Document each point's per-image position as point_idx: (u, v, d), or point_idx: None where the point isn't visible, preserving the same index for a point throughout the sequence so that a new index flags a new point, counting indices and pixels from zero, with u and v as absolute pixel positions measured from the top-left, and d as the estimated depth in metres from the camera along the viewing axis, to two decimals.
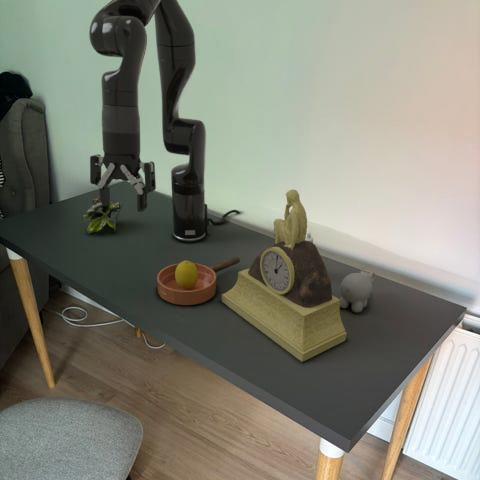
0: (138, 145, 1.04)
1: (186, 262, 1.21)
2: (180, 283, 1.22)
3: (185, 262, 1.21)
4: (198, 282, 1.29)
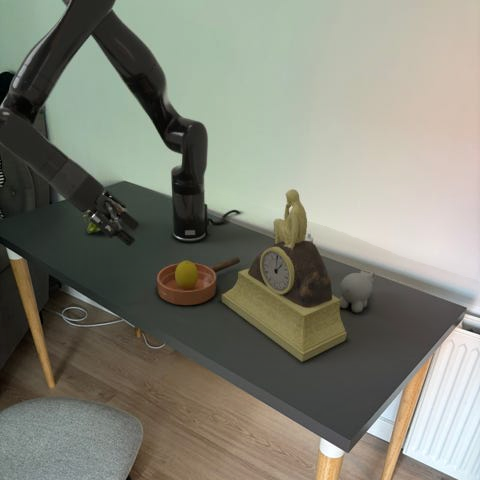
0: (84, 199, 1.07)
1: (186, 262, 1.21)
2: (180, 283, 1.22)
3: (185, 262, 1.21)
4: (198, 282, 1.29)
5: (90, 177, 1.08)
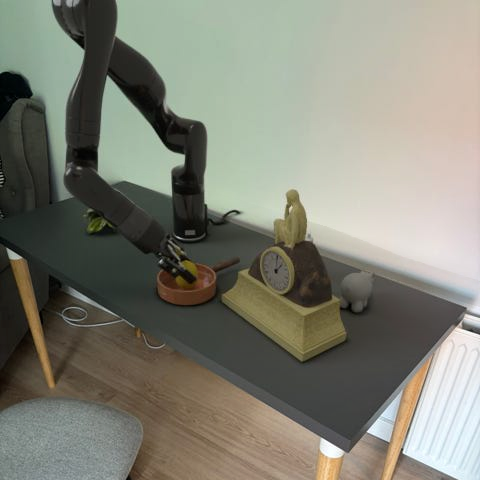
0: (149, 243, 1.14)
1: (186, 262, 1.21)
2: (180, 283, 1.22)
3: (185, 262, 1.21)
4: (198, 282, 1.29)
5: (154, 222, 1.15)
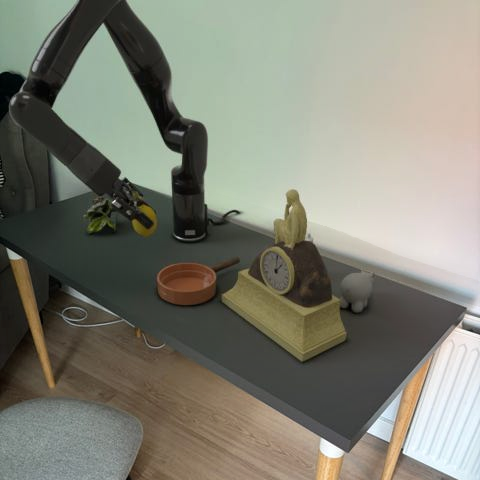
0: (102, 182, 1.09)
1: (143, 206, 1.16)
2: (137, 229, 1.17)
3: (142, 206, 1.16)
4: (198, 282, 1.29)
5: (108, 161, 1.10)
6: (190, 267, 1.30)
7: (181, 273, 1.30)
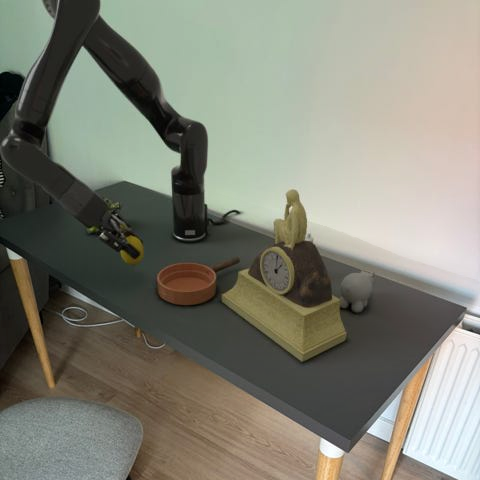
0: (91, 216, 1.15)
1: (130, 237, 1.22)
2: (124, 259, 1.23)
3: (129, 237, 1.22)
4: (198, 282, 1.29)
5: (96, 196, 1.15)
6: (190, 267, 1.30)
7: (181, 273, 1.30)
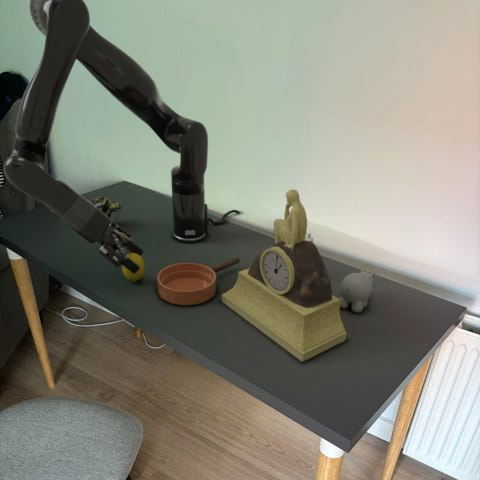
0: (93, 232, 1.17)
1: (132, 254, 1.24)
2: (126, 275, 1.25)
3: (131, 254, 1.24)
4: (198, 282, 1.29)
5: (98, 212, 1.18)
6: (190, 267, 1.30)
7: (181, 273, 1.30)
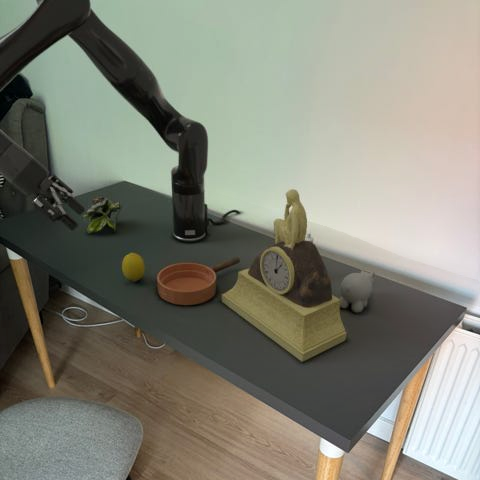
0: (27, 183, 1.10)
1: (132, 254, 1.24)
2: (126, 275, 1.25)
3: (131, 254, 1.24)
4: (198, 282, 1.29)
5: (34, 161, 1.11)
6: (190, 267, 1.30)
7: (181, 273, 1.30)
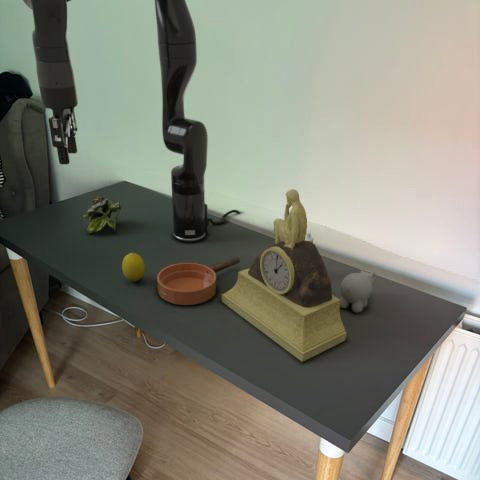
0: (57, 100, 1.09)
1: (132, 254, 1.24)
2: (126, 275, 1.25)
3: (131, 254, 1.24)
4: (198, 282, 1.29)
5: (74, 88, 1.11)
6: (190, 267, 1.30)
7: (181, 273, 1.30)
